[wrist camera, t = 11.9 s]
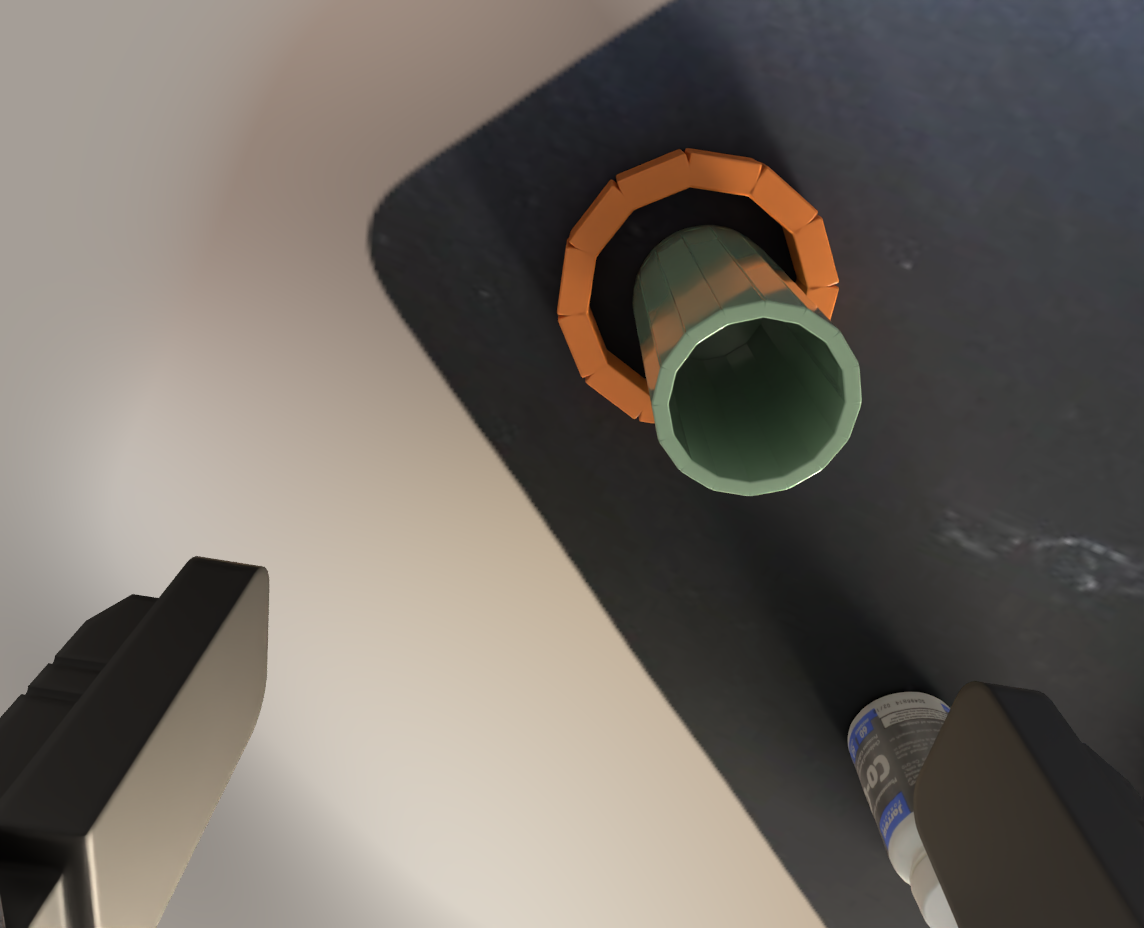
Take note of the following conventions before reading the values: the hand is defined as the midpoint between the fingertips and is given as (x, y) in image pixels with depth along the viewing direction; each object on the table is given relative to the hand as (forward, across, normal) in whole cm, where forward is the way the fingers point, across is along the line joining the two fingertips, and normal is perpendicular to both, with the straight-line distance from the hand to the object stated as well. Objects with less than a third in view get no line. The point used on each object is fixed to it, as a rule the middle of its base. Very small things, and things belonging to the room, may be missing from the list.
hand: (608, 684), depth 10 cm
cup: (+21, -4, 0) cm, 21 cm away
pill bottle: (+21, -17, +17) cm, 32 cm away
